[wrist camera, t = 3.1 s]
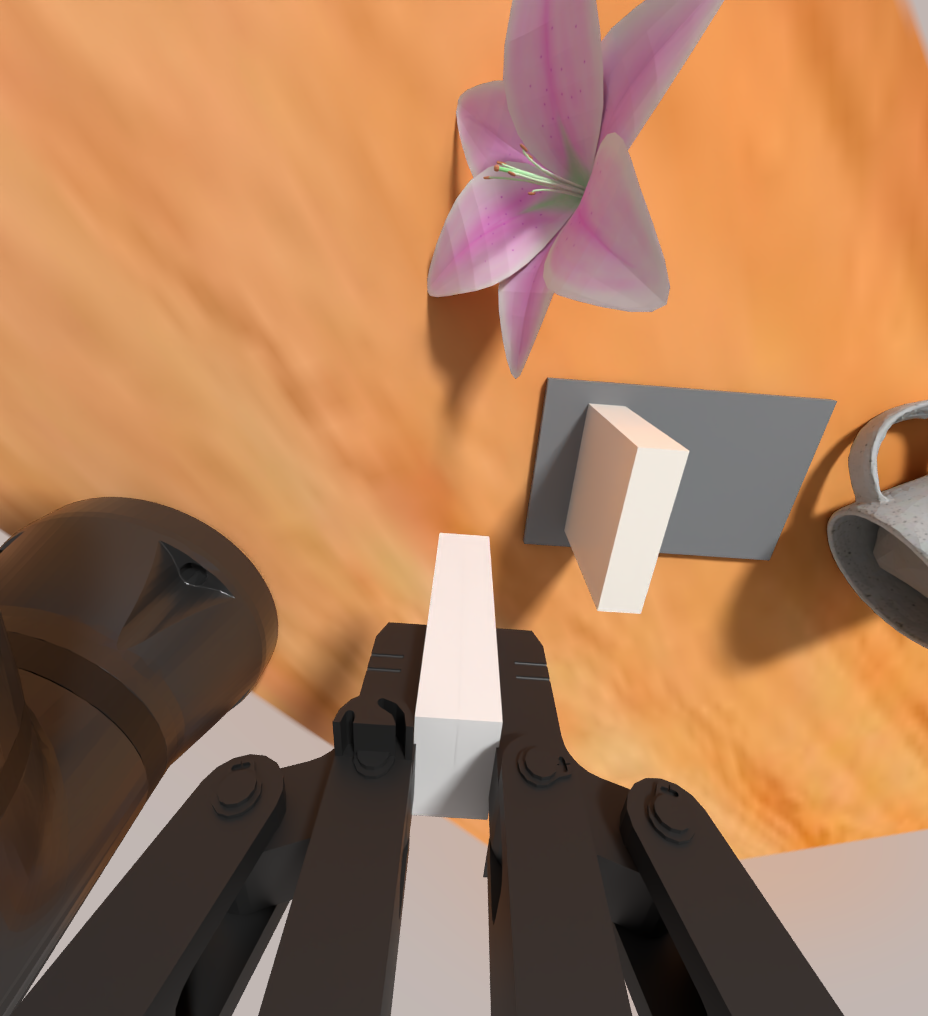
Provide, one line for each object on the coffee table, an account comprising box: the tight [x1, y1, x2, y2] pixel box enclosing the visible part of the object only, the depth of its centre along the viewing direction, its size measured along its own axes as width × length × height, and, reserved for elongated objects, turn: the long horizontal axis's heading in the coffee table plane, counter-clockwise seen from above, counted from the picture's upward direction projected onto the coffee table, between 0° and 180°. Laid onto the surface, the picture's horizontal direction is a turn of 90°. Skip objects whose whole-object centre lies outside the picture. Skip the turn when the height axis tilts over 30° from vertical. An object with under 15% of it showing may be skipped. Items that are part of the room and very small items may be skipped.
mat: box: [523, 378, 837, 560], centre depth 24 cm, size 14×9×1 cm, turn 86°
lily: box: [427, 0, 724, 379], centre depth 16 cm, size 12×12×10 cm
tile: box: [564, 403, 689, 614], centre depth 20 cm, size 2×7×7 cm, turn 176°
